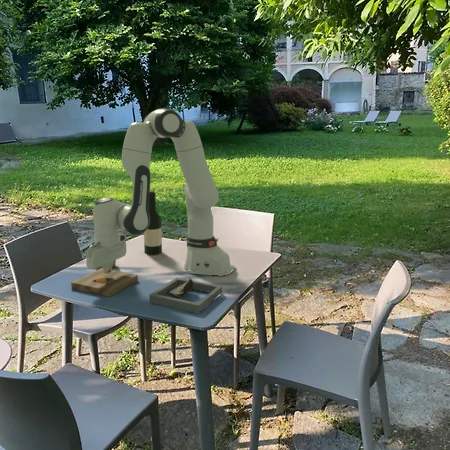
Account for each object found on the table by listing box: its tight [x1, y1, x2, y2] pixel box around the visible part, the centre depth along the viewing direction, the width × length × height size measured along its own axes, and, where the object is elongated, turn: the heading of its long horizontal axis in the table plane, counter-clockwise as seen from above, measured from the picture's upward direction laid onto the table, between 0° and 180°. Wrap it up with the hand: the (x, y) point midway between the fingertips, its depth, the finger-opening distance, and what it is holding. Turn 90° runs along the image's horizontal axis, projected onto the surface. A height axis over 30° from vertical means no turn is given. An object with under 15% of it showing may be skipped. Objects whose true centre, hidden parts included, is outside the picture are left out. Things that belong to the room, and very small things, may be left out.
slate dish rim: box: [148, 277, 223, 314], centre depth 165 cm, size 20×19×3 cm
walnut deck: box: [70, 267, 139, 298], centre depth 176 cm, size 18×18×2 cm
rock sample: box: [168, 277, 194, 299], centre depth 167 cm, size 10×8×9 cm
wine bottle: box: [143, 190, 163, 256], centre depth 213 cm, size 8×8×30 cm
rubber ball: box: [96, 276, 107, 284], centre depth 174 cm, size 4×4×4 cm
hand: (107, 273), depth 177 cm, fingers closed
